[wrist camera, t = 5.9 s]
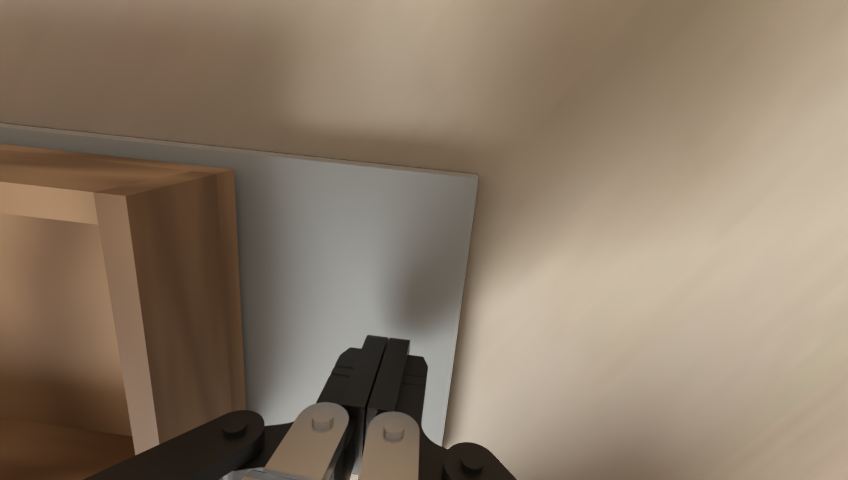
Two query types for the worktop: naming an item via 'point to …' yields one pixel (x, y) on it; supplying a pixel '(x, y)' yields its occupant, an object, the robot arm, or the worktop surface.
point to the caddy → (112, 308)
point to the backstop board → (326, 261)
